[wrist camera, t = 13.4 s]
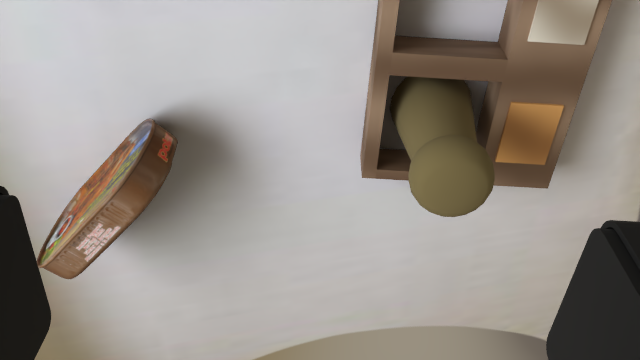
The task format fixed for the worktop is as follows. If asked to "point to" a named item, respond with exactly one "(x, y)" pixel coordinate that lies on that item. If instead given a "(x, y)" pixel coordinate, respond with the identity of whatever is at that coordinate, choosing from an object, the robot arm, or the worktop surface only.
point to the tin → (109, 201)
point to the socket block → (494, 84)
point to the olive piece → (442, 145)
